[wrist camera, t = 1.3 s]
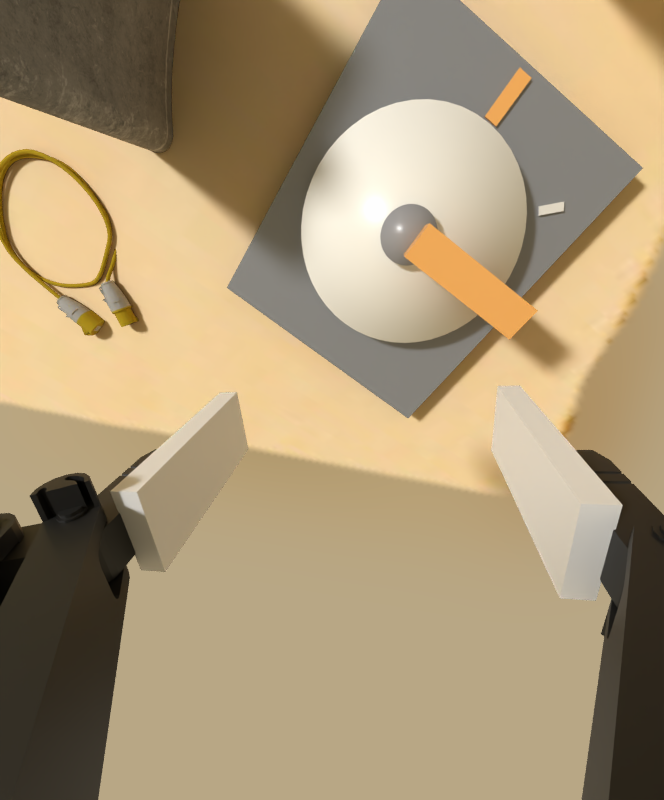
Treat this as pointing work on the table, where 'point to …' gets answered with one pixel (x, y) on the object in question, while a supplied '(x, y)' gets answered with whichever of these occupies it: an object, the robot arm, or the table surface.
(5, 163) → the extension cord
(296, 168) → the dial housing
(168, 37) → the flask
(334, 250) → the dial
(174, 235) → the table surface
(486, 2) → the table surface
